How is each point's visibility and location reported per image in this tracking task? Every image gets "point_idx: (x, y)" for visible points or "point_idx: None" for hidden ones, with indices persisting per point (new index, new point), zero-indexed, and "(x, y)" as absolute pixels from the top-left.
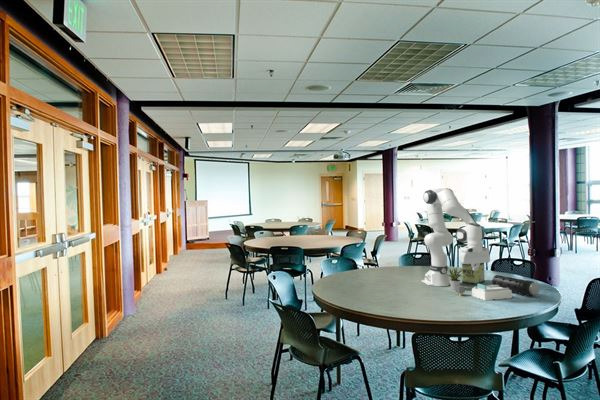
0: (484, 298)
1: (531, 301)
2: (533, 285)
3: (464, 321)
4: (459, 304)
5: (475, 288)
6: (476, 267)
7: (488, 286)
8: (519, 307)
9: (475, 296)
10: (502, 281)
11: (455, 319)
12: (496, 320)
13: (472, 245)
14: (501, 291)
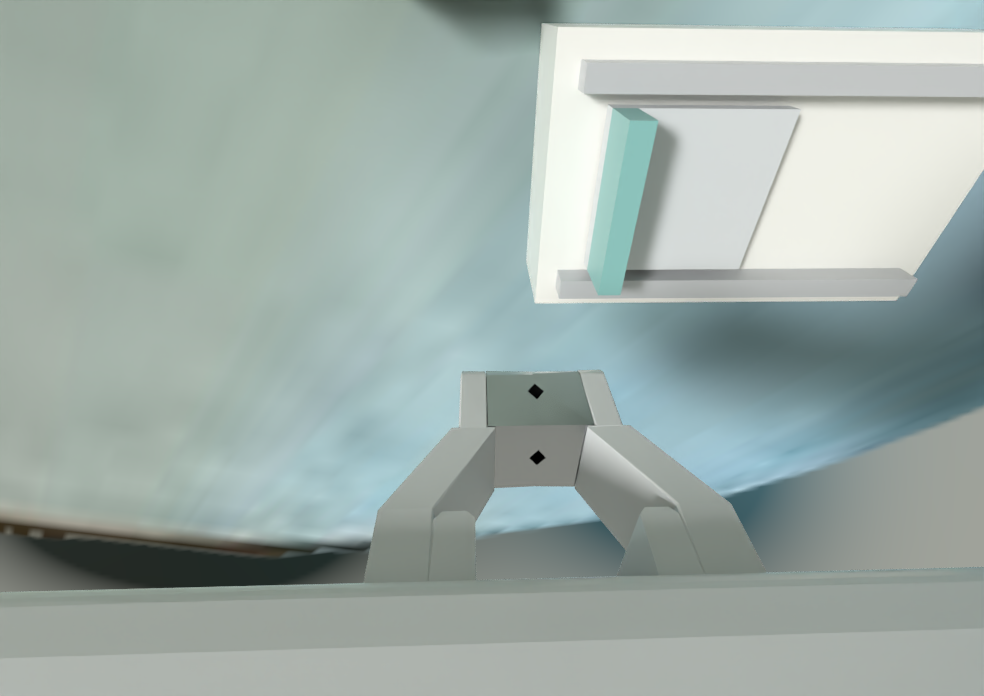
0: (528, 262)
1: (836, 378)
2: None
3: (133, 541)
4: (207, 305)
5: (582, 88)
6: (557, 474)
7: (838, 94)
8: None
9: (537, 105)
10: None
11: (88, 519)
12: (306, 553)
13: None
14: (758, 298)
